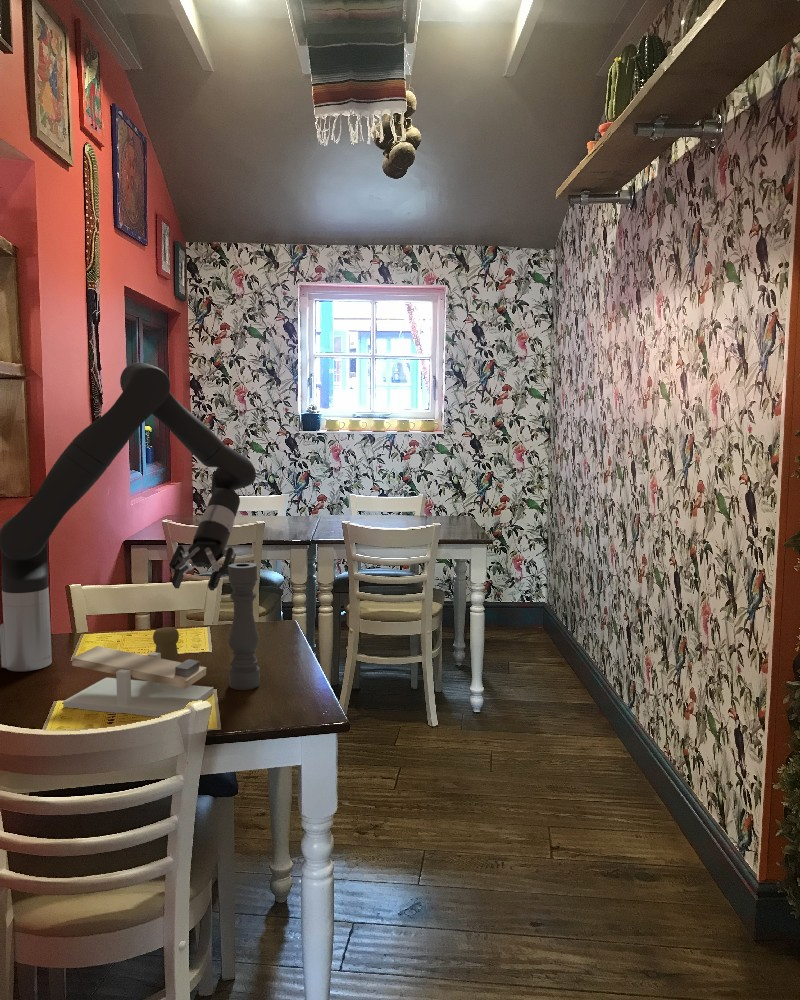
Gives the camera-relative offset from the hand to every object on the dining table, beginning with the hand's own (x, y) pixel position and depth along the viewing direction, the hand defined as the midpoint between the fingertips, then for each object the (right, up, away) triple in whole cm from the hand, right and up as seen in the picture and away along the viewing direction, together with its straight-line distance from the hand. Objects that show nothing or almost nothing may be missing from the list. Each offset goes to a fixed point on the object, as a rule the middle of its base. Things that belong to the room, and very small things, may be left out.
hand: (192, 587), depth 176 cm
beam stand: (-5, -20, -22) cm, 29 cm away
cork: (-3, -18, -10) cm, 21 cm away
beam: (-5, -14, -22) cm, 26 cm away
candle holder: (+14, -19, -13) cm, 27 cm away
